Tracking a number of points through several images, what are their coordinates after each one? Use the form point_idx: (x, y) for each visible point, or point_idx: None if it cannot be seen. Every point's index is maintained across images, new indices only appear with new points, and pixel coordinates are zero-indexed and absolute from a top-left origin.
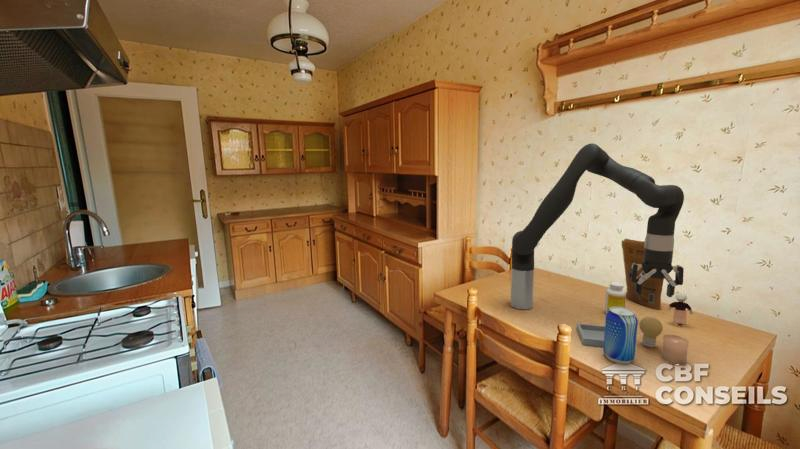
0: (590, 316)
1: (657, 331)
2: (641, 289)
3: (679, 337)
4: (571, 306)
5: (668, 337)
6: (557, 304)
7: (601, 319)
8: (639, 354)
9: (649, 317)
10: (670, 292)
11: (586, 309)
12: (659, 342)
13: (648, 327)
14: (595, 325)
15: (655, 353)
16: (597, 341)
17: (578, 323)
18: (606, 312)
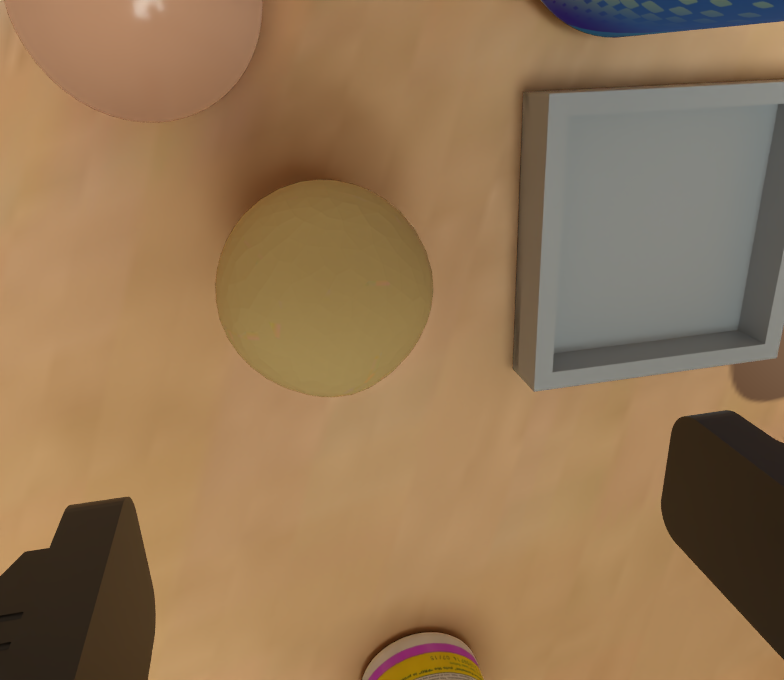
0: (584, 572)
1: (285, 187)
2: (777, 477)
3: (82, 65)
4: (656, 669)
5: (210, 25)
6: (731, 662)
7: (526, 555)
8: (420, 38)
9: (359, 331)
10: (82, 580)
11: (576, 664)
12: (208, 323)
13: (378, 198)
14: (659, 364)
15: (287, 101)
16: (728, 83)
17: (769, 354)
18: (474, 657)
